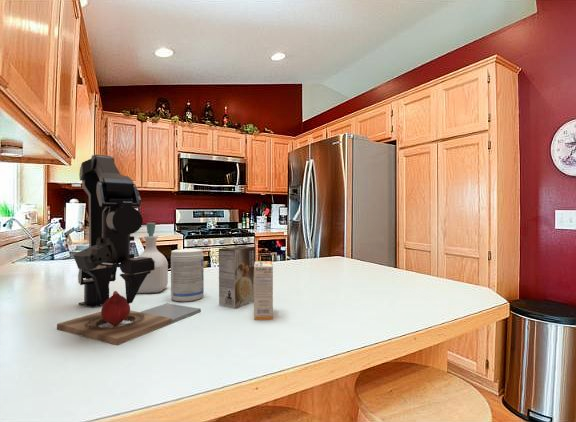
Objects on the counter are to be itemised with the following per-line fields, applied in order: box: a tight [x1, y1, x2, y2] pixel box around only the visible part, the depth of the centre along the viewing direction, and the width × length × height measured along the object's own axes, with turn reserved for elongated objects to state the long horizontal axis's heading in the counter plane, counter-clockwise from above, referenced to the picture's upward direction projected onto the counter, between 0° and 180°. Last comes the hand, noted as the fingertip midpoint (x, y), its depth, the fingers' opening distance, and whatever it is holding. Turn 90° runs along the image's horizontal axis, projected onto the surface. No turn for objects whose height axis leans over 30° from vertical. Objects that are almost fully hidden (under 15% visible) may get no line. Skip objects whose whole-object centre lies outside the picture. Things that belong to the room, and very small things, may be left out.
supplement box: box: [253, 260, 274, 321], centre depth 82 cm, size 8×5×13 cm, turn 5°
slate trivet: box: [140, 302, 202, 324], centre depth 81 cm, size 12×12×1 cm
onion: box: [100, 290, 131, 327], centre depth 73 cm, size 6×6×8 cm
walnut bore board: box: [56, 309, 173, 346], centre depth 73 cm, size 20×14×1 cm
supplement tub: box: [170, 248, 205, 303], centre depth 98 cm, size 10×10×15 cm
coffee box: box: [218, 245, 256, 309], centre depth 93 cm, size 9×6×16 cm
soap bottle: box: [137, 222, 169, 294], centre depth 108 cm, size 10×10×23 cm
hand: (115, 300), depth 73 cm, fingers open, 9 cm apart
